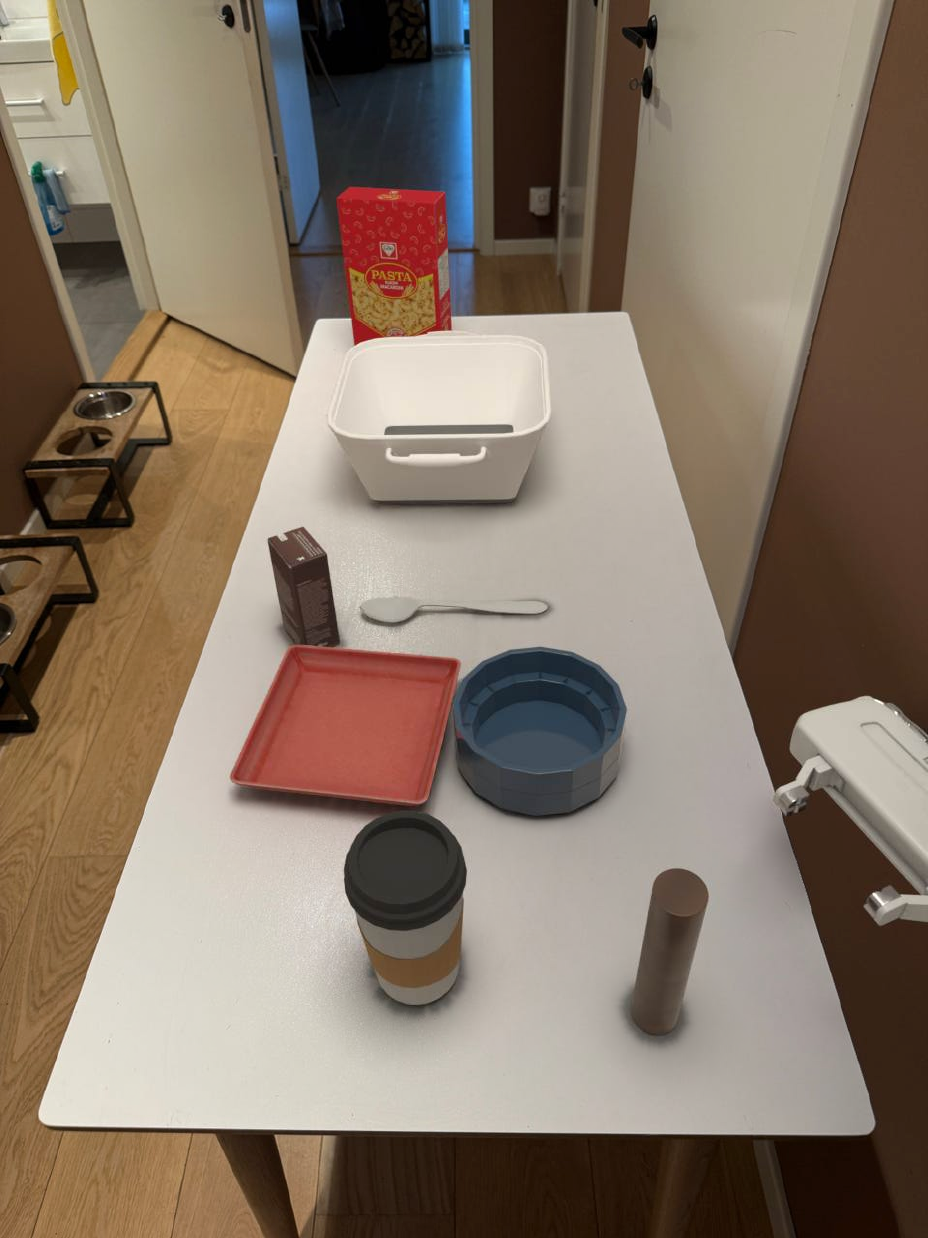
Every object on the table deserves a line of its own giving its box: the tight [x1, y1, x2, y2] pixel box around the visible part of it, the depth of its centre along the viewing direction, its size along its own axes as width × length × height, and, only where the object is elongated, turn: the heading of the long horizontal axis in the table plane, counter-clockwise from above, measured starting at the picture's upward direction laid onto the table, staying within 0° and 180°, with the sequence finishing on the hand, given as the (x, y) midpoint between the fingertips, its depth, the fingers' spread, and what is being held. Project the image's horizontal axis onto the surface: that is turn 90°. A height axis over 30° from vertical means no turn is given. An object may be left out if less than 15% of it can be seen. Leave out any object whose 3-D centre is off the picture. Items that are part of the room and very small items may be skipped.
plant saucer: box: [229, 644, 462, 807], centre depth 88 cm, size 18×18×3 cm
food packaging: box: [336, 186, 453, 347], centre depth 141 cm, size 15×5×25 cm, turn 74°
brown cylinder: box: [630, 867, 710, 1036], centre depth 62 cm, size 3×3×16 cm
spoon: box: [359, 596, 549, 623], centre depth 101 cm, size 4×21×2 cm, turn 91°
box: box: [267, 526, 341, 648], centre depth 96 cm, size 6×4×12 cm
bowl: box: [452, 646, 628, 817], centre depth 84 cm, size 15×15×6 cm
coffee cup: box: [343, 810, 468, 1006], centre depth 66 cm, size 8×8×15 cm
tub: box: [326, 330, 552, 505], centre depth 120 cm, size 34×27×13 cm
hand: (824, 854), depth 63 cm, fingers open, 8 cm apart
